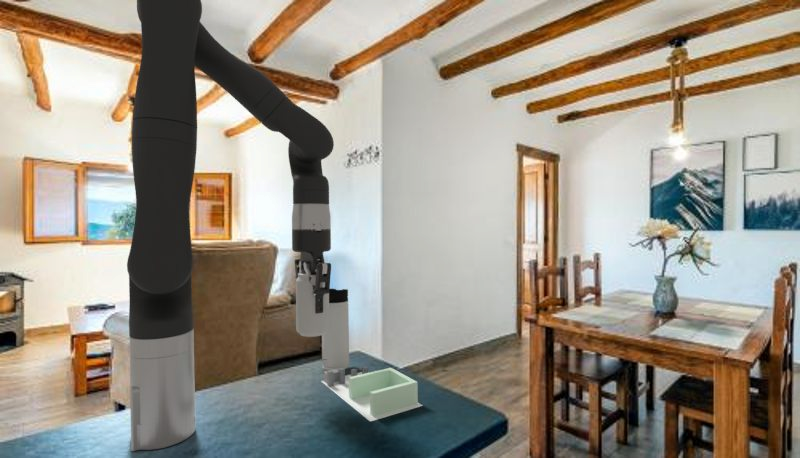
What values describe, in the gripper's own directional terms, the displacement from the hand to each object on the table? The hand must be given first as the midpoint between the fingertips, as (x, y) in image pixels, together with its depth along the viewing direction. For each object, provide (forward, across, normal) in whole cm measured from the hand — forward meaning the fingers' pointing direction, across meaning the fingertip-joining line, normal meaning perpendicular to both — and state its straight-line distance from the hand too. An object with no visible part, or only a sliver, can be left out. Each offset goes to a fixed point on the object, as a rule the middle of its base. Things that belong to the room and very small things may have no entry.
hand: (312, 312), depth 83 cm
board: (+17, +6, +9) cm, 20 cm away
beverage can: (+4, 0, 0) cm, 4 cm away
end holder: (+16, +11, +10) cm, 22 cm away
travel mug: (+17, -12, +10) cm, 24 cm away
